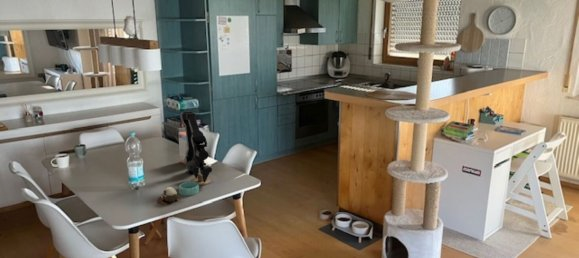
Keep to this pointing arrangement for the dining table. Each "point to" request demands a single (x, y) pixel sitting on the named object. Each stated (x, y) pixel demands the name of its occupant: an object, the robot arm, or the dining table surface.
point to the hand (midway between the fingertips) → (200, 180)
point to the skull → (168, 196)
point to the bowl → (189, 188)
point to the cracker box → (182, 146)
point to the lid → (201, 180)
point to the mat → (207, 184)
